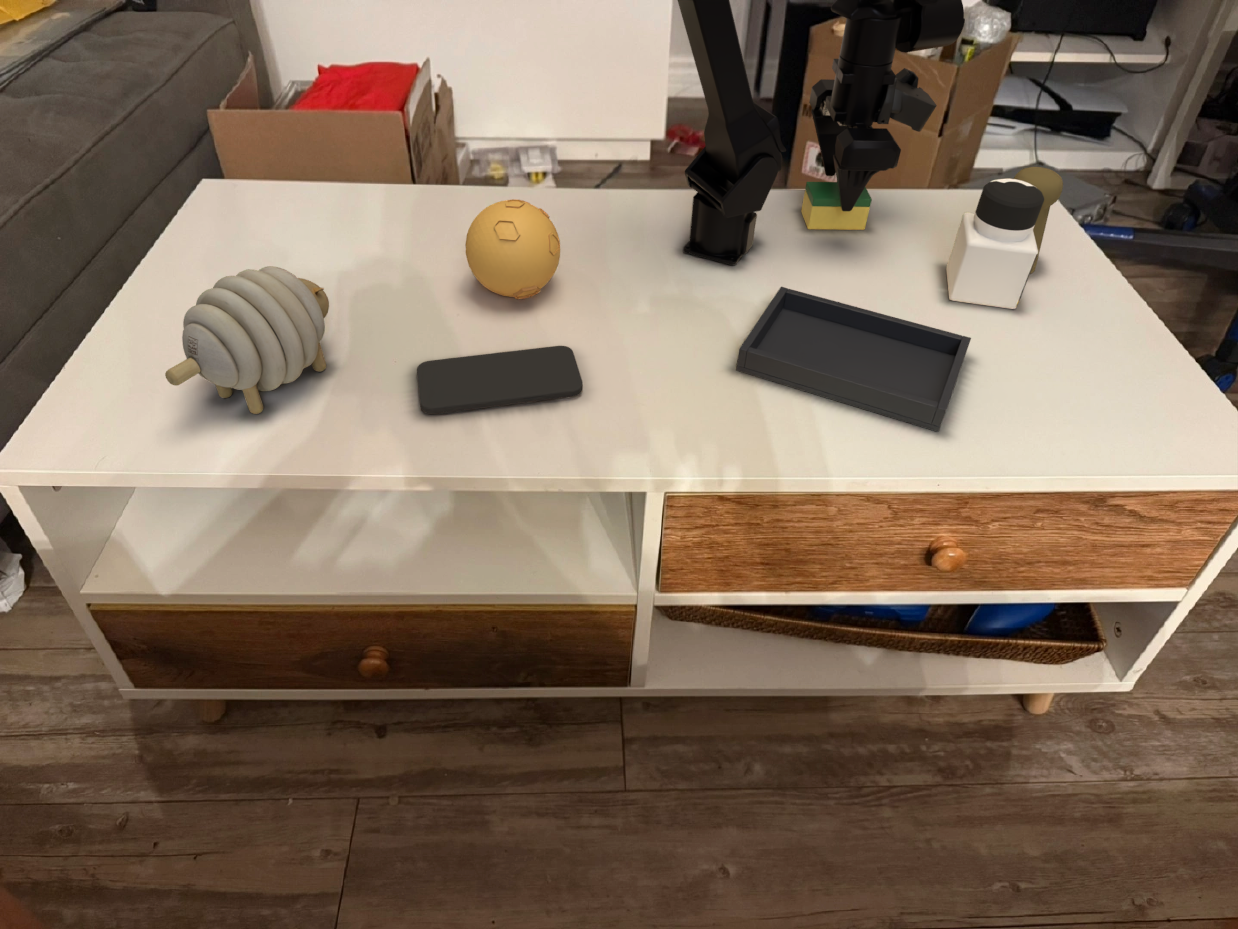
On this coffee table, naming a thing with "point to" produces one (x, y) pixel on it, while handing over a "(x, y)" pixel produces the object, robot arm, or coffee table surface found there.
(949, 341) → the tray
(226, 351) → the toy sheep
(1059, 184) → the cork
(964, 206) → the coffee table surface
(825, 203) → the sponge
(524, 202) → the stress ball
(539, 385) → the phone
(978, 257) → the medicine bottle
